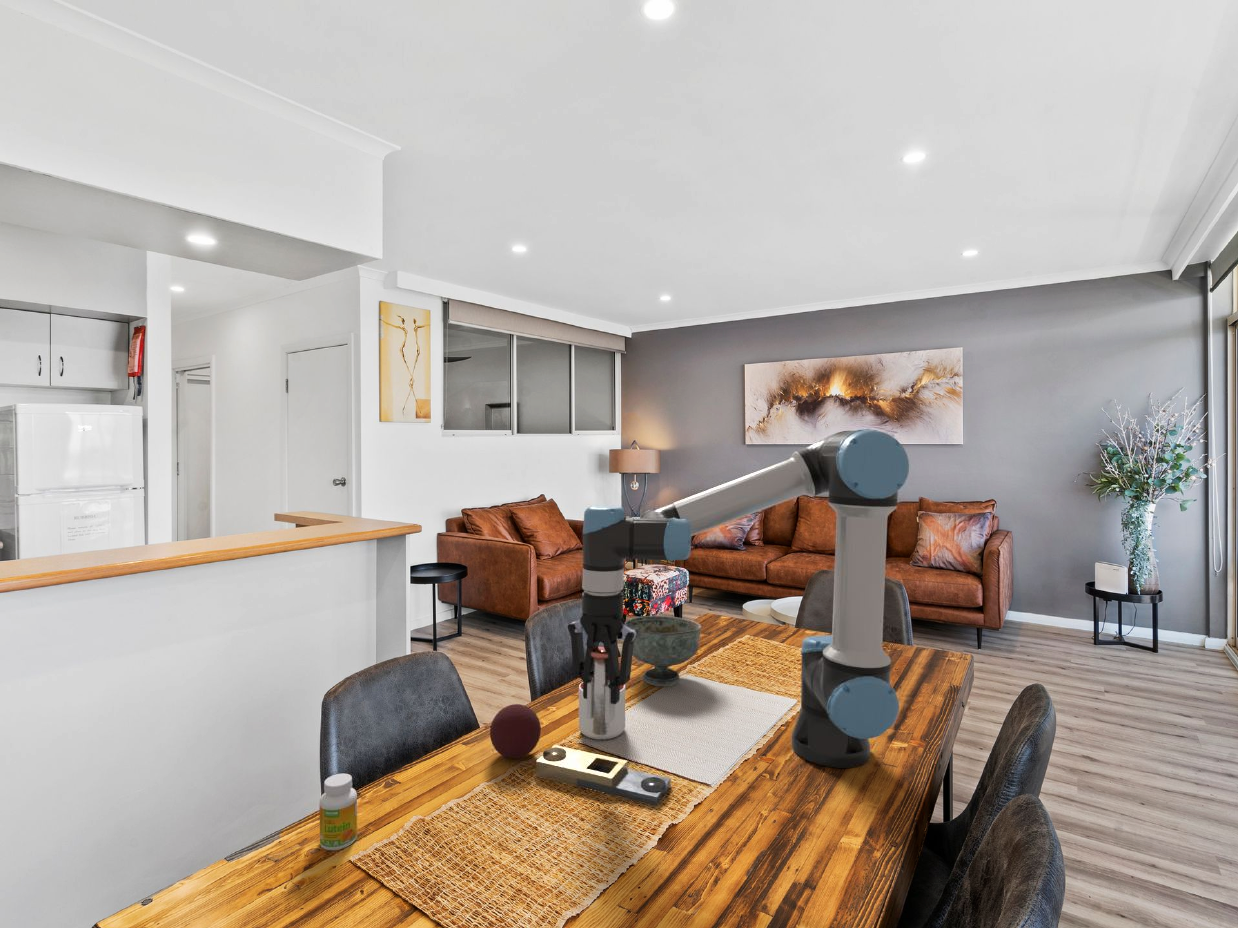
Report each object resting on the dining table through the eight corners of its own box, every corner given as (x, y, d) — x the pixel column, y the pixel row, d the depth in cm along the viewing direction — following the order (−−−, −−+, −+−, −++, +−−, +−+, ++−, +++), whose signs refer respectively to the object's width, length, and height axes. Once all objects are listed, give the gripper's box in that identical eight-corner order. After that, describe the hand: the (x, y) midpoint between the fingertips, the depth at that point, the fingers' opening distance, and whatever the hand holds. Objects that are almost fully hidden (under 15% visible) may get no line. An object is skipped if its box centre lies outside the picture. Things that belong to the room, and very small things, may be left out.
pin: (616, 728, 122) (617, 648, 121) (606, 738, 118) (607, 655, 117) (595, 724, 123) (596, 645, 123) (584, 733, 119) (585, 652, 119)
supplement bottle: (319, 854, 99) (318, 791, 99) (320, 835, 104) (319, 774, 104) (357, 846, 101) (357, 784, 101) (356, 827, 106) (356, 768, 106)
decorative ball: (521, 739, 138) (521, 692, 137) (551, 755, 131) (551, 706, 130) (480, 755, 131) (479, 705, 130) (509, 773, 124) (509, 721, 123)
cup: (620, 743, 136) (620, 696, 136) (573, 739, 138) (573, 692, 138) (629, 723, 146) (629, 679, 145) (585, 719, 148) (585, 675, 147)
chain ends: (671, 786, 119) (671, 768, 119) (658, 805, 113) (658, 786, 113) (553, 759, 129) (553, 742, 129) (535, 776, 123) (535, 758, 122)
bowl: (711, 674, 176) (712, 619, 176) (678, 698, 160) (678, 637, 160) (647, 661, 187) (648, 609, 186) (610, 682, 171) (610, 625, 170)
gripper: (651, 591, 120) (649, 718, 121) (573, 582, 126) (571, 703, 127) (635, 600, 113) (633, 734, 114) (554, 590, 119) (552, 717, 120)
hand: (600, 717), depth 120 cm, fingers closed on pin, 3 cm apart
